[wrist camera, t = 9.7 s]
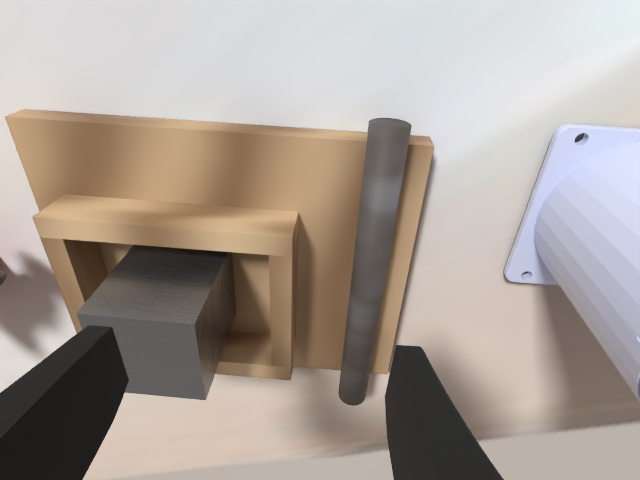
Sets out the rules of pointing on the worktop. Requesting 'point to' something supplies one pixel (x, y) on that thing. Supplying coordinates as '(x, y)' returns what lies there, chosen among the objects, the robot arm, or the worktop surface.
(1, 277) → the toy boat
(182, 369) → the grey rectangular block
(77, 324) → the plate
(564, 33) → the worktop surface
